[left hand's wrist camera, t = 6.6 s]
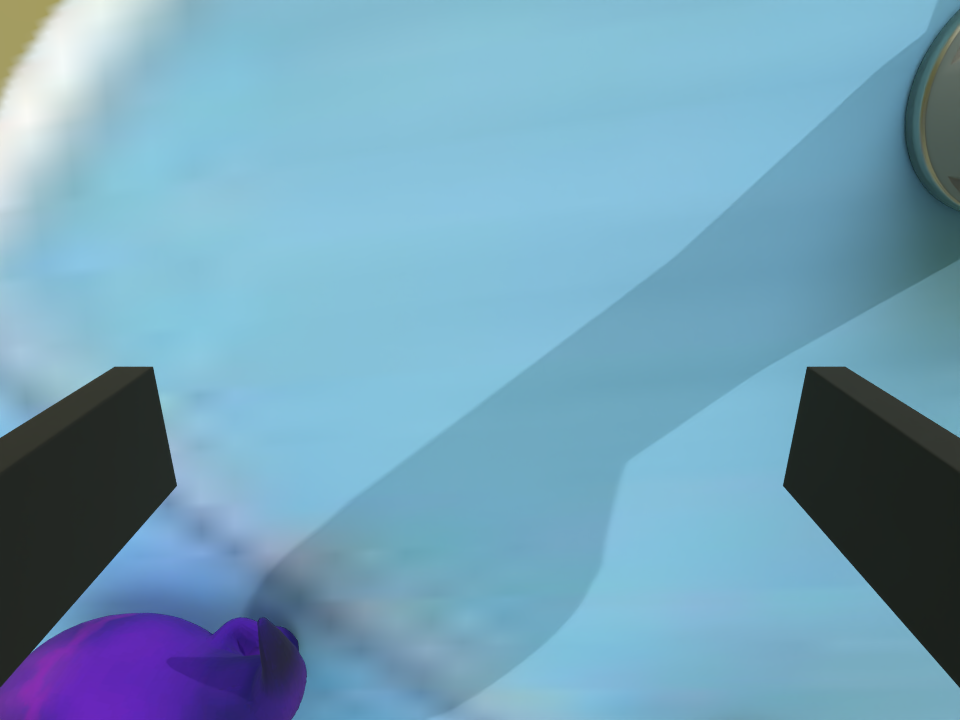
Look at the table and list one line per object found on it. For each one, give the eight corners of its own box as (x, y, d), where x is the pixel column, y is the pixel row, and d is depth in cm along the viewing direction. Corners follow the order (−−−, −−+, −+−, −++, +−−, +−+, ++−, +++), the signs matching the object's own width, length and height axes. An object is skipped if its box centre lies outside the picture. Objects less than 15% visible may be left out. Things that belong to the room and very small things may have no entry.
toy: (385, 643, 55) (132, 675, 60) (297, 521, 45) (5, 572, 50) (348, 861, 42) (31, 877, 47) (214, 757, 32) (-165, 792, 38)
